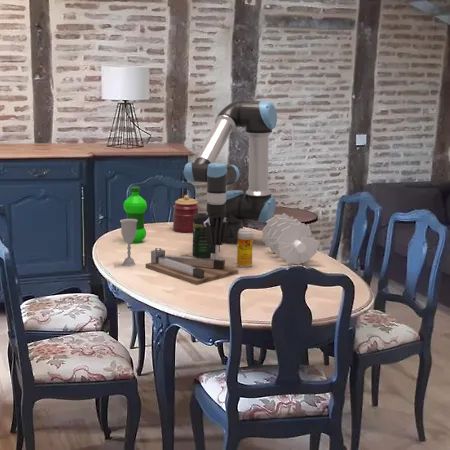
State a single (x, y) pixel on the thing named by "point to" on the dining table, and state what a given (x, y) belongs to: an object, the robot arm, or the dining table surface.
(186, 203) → the canister
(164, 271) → the cutting board
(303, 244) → the spiral staircase
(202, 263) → the arm
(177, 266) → the grey l-shaped bar
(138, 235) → the plastic bottle
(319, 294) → the dining table surface
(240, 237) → the beer can
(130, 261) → the chalice
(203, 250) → the coffee jar
